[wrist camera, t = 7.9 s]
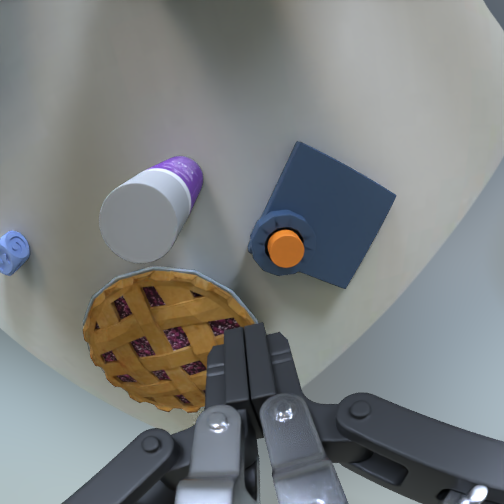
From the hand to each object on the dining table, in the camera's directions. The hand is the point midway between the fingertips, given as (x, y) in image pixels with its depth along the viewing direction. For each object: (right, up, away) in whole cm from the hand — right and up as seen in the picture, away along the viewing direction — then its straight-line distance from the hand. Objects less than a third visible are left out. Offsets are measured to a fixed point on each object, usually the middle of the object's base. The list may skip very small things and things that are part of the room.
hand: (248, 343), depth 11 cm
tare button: (+3, +4, +18) cm, 18 cm away
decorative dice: (-29, +4, +18) cm, 35 cm away
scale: (+8, +7, +20) cm, 23 cm away
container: (-7, +11, +18) cm, 22 cm away
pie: (-10, -7, +25) cm, 27 cm away
